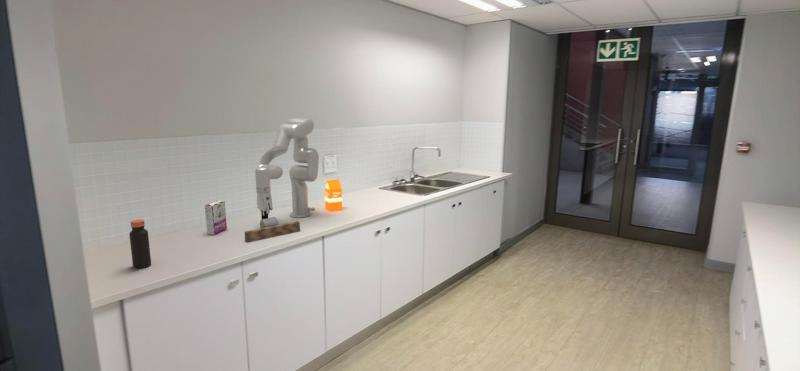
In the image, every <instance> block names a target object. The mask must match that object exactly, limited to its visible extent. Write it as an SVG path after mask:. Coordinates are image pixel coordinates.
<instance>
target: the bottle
mask: <svg viewBox="0 0 800 371" xmlns="http://www.w3.org/2000/svg"><path fill="white" fill-rule="evenodd" d="M145 226H146V224H145V220H144V219H133V220H131V221H130V228H131V229H132V230H131V231H130V232H129V242H130V250H131V251H130V253H131V262H132V267H133V268H134V269H139V270H140V269H146V268H148V267H150V266H151V265H152V259H151V258H152V257H151V248H150V239H149V231H148V229H146V228H145Z"/></svg>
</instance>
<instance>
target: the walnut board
mask: <svg viewBox="0 0 800 371" xmlns="http://www.w3.org/2000/svg"><path fill="white" fill-rule="evenodd" d="M300 225H301V222H300V221H297V220H296V221H292V222H287V223H282V224H278V225H276V226H270V227H265V228H260V227H259V228H256V229H252V230H251V229H250V230H246V231H244V232H243V233H244V242H246V243H250V242H255V241H260V240H265V239H268V238H274V237H278V236H283V235H287V234H292V233H297V232H300V231H301V226H300Z"/></svg>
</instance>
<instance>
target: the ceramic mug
mask: <svg viewBox="0 0 800 371" xmlns="http://www.w3.org/2000/svg"><path fill="white" fill-rule="evenodd" d="M277 219H278V218H277V217H276V216H271V217H268V218H267V219H263V220H262V219H261V220H259V229H260V228H265V227H270V226H276V225H279V222H278V220H277Z"/></svg>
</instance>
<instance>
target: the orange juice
mask: <svg viewBox="0 0 800 371" xmlns="http://www.w3.org/2000/svg"><path fill="white" fill-rule="evenodd" d="M324 209H325V210H326V211H327V212H335V211H336V212H338V211H342V210H343V190H342V185H341V182H340V179H339V178H338V179H328V180H326V183H325V186H324Z"/></svg>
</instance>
